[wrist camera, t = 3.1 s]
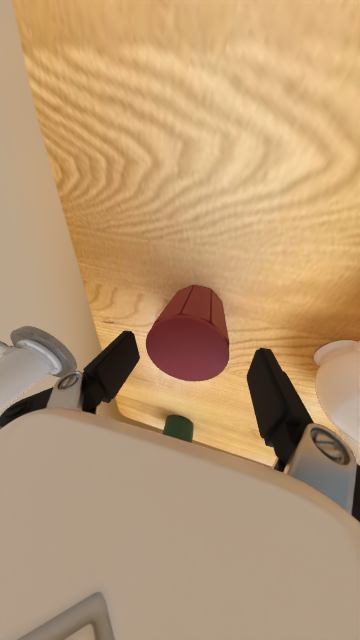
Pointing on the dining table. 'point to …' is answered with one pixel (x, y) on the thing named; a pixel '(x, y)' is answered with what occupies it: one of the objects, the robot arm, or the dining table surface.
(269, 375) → the robot arm
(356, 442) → the teapot
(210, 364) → the grooved red cylinder
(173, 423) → the green bottle
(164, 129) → the dining table surface
